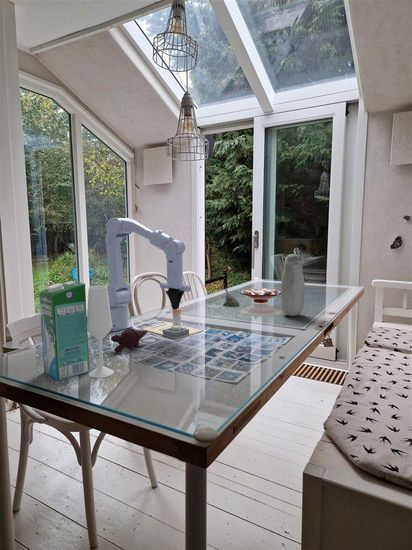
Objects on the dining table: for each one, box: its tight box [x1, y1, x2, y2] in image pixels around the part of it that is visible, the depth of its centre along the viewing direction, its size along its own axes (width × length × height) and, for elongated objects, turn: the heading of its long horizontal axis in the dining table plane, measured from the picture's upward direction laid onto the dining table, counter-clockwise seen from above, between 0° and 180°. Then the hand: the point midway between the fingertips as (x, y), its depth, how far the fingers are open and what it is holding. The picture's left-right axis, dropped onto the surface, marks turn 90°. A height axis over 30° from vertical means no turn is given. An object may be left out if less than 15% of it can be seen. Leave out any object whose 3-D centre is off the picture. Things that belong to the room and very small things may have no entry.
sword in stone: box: [222, 282, 241, 308], centre depth 195 cm, size 10×8×12 cm
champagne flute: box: [86, 285, 115, 379], centre depth 103 cm, size 7×7×24 cm
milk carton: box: [38, 280, 90, 382], centre depth 103 cm, size 9×9×25 cm
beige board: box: [141, 321, 204, 340], centre depth 148 cm, size 14×20×1 cm
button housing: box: [162, 327, 189, 339], centre depth 141 cm, size 7×7×2 cm
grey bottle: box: [280, 253, 305, 317], centre depth 170 cm, size 10×10×28 cm
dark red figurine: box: [110, 327, 148, 354], centre depth 126 cm, size 7×7×15 cm
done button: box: [171, 326, 181, 332], centre depth 141 cm, size 4×4×3 cm
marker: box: [171, 307, 182, 326], centre depth 150 cm, size 3×3×8 cm
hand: (175, 308), depth 140 cm, fingers closed
